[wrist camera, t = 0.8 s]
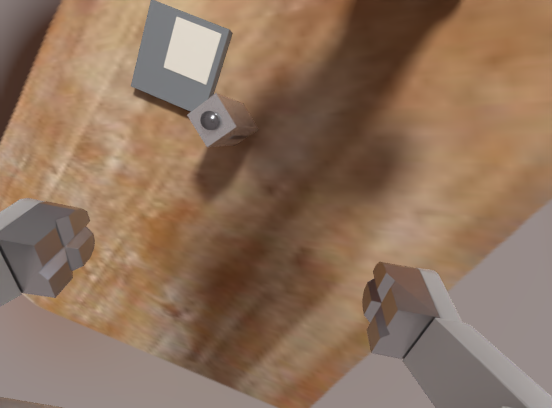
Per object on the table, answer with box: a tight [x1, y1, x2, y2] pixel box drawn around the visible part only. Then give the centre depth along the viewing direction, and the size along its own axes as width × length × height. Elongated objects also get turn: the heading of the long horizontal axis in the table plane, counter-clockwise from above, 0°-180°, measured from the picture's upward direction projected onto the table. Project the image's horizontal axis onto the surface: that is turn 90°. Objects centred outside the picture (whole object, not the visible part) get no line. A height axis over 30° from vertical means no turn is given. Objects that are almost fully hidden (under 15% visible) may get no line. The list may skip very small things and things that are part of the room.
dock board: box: [131, 0, 232, 111], centre depth 49 cm, size 14×14×2 cm
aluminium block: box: [187, 93, 259, 147], centre depth 44 cm, size 5×5×13 cm
